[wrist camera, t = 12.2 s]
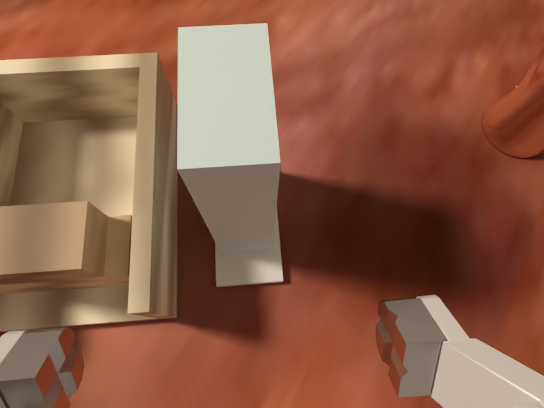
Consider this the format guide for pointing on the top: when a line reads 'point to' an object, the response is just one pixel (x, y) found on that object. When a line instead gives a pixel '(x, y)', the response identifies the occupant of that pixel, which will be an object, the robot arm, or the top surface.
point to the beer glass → (519, 115)
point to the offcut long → (113, 266)
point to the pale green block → (229, 132)
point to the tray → (94, 174)
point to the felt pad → (250, 265)
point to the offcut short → (51, 242)
